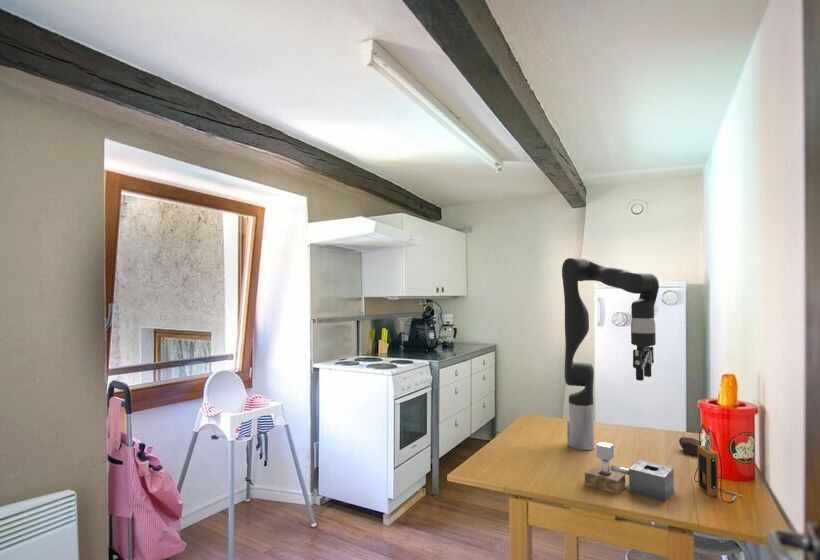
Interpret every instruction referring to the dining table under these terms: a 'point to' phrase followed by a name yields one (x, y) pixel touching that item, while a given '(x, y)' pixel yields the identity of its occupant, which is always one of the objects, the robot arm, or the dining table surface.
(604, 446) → the grey square peg
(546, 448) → the dining table surface
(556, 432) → the dining table surface
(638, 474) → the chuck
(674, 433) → the dining table surface
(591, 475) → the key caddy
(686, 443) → the rough brown rock chunk
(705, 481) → the multimeter
